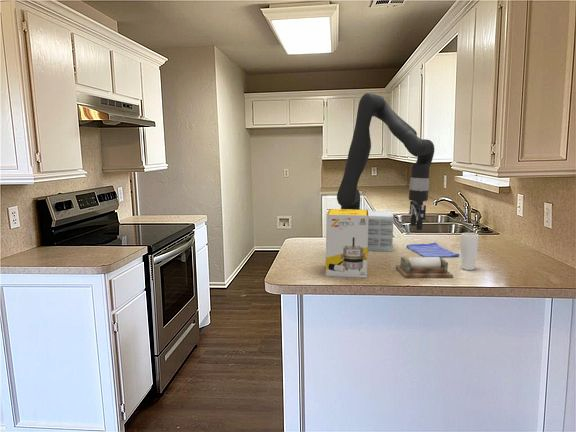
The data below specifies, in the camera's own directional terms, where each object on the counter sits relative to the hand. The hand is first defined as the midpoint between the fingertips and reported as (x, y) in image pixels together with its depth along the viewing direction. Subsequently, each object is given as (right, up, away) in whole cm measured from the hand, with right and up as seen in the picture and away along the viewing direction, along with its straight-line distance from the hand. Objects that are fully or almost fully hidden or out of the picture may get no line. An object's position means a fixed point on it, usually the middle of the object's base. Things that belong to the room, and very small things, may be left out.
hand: (416, 227), depth 173 cm
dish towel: (+18, -14, +34) cm, 41 cm away
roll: (+2, -17, -2) cm, 18 cm away
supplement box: (-6, -12, +44) cm, 46 cm away
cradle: (+2, -19, -2) cm, 19 cm away
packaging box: (-29, -18, +1) cm, 34 cm away
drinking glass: (+23, -18, +4) cm, 30 cm away
